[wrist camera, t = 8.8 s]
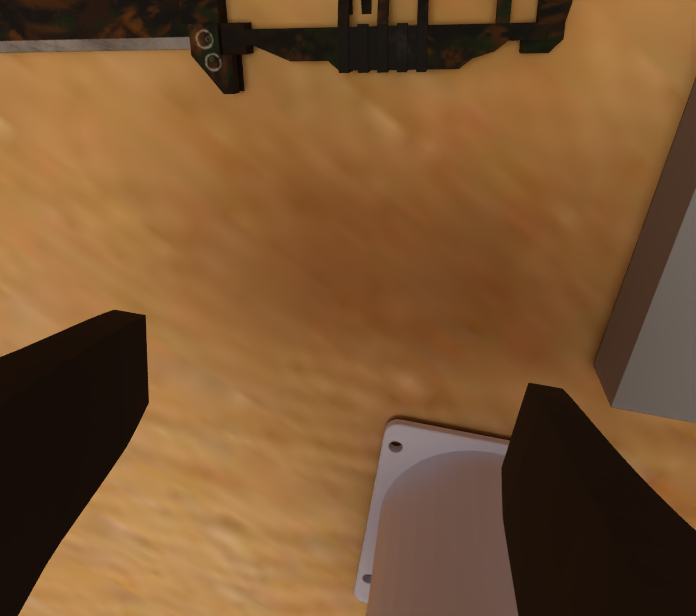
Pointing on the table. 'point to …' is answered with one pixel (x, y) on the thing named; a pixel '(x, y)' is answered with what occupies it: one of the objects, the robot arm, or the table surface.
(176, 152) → the table surface
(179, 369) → the table surface
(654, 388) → the socket block
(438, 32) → the knife
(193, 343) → the table surface
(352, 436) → the table surface
